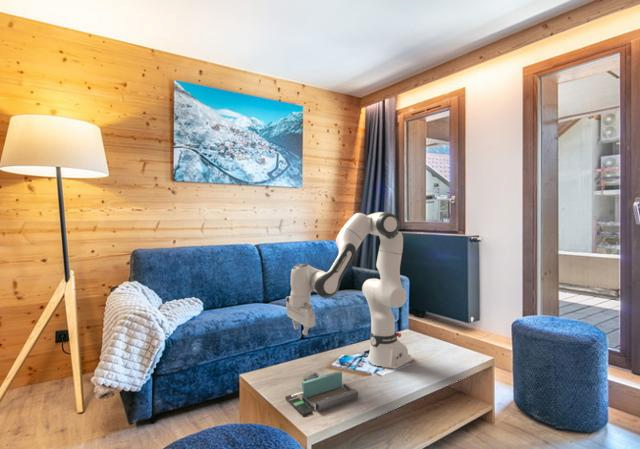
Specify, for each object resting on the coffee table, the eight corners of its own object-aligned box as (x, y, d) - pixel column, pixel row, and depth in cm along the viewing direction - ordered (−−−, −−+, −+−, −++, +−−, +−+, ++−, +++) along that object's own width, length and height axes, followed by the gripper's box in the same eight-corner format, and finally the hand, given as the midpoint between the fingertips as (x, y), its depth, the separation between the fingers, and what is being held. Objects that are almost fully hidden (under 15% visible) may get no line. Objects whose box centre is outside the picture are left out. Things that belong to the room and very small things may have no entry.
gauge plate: (339, 384, 154) (339, 370, 153) (341, 386, 153) (341, 372, 152) (290, 400, 142) (290, 385, 141) (292, 402, 140) (292, 386, 140)
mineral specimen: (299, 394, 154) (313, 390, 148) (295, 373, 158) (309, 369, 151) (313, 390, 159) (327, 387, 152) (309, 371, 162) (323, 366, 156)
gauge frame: (338, 382, 157) (338, 375, 156) (360, 398, 144) (360, 390, 144) (285, 399, 143) (285, 391, 143) (304, 418, 131) (304, 409, 130)
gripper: (319, 305, 155) (318, 337, 156) (296, 294, 172) (296, 324, 173) (306, 307, 151) (306, 340, 152) (283, 296, 169) (283, 326, 170)
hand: (300, 331), depth 163 cm, fingers open, 7 cm apart
